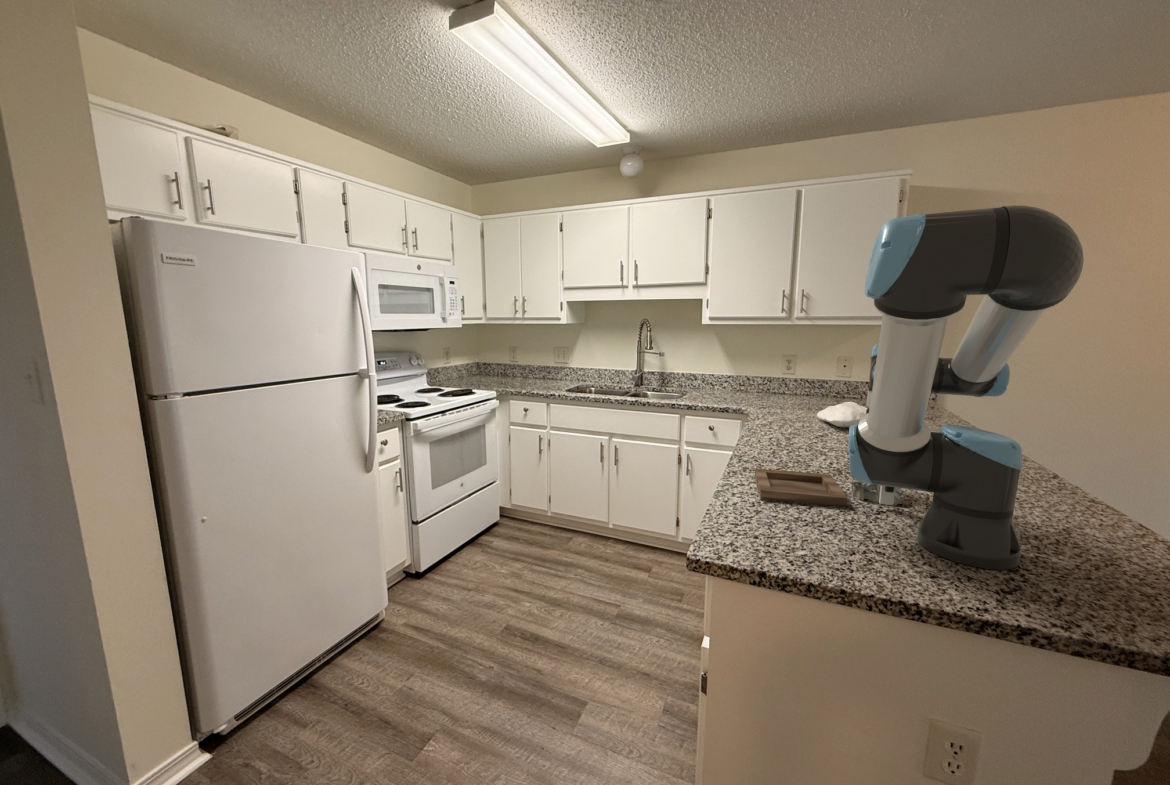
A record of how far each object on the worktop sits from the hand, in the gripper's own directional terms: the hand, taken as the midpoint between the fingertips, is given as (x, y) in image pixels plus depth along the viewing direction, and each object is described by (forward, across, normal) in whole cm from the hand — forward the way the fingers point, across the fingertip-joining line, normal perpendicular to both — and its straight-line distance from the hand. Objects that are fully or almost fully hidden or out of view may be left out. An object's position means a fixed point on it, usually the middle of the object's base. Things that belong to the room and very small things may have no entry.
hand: (876, 493), depth 112 cm
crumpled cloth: (+3, +86, -15) cm, 87 cm away
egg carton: (+2, 0, 0) cm, 2 cm away
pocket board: (+1, 0, +18) cm, 18 cm away
